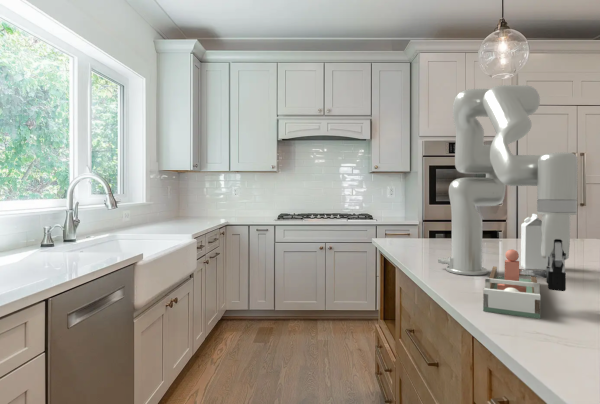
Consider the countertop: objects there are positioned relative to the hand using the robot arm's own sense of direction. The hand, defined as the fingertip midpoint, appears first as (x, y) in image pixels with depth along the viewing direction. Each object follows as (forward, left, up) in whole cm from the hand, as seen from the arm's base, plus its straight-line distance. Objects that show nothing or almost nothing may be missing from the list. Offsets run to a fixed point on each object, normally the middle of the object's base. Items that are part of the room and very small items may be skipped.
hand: (555, 286), depth 88 cm
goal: (-9, -6, -5) cm, 11 cm away
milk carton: (-3, +54, -6) cm, 54 cm away
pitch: (-9, +10, -6) cm, 14 cm away
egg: (-9, -4, -3) cm, 10 cm away
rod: (-5, 0, -4) cm, 6 cm away
